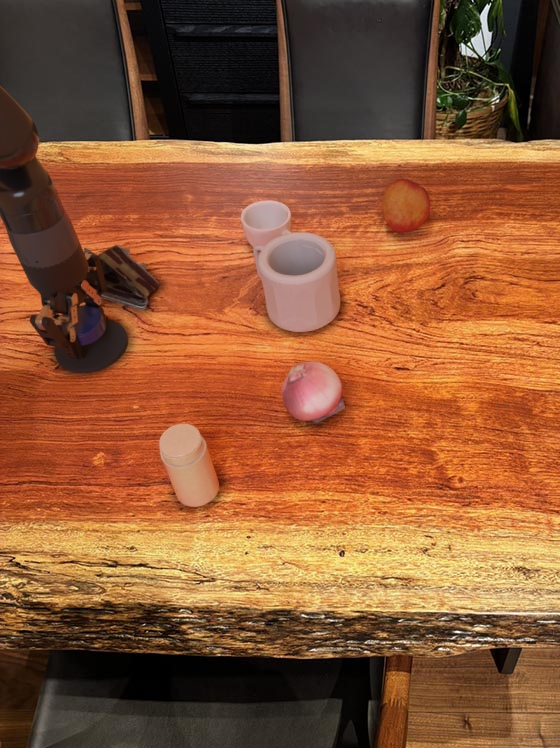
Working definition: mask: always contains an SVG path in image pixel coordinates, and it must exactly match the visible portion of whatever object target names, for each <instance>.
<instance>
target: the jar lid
mask: <svg viewBox="0 0 560 748" xmlns="http://www.w3.org/2000/svg"><path fill="white" fill-rule="evenodd" d="M77 315H78V323H77V324H76V325H75V329H76V337H77V338H78V340H79V342H80V344H81V346H83V345H87V344H90V343H93V342H95V341H96V340H98V339H99V338H100V337H101V336H102V335H103V333H104V332H105V328H106V325H105V320H104V318H103V315H102V314H101V312H100V311H99V309H97V308H96V307H94V306H90V305H85V304H80V305H79V307H78V310H77ZM61 316H62V317H68V318H69V315H64V314H61ZM62 328H63V332H67V328H66V326H62Z"/></svg>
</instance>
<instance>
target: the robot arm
mask: <svg viewBox="0 0 560 748" xmlns="http://www.w3.org/2000/svg"><path fill="white" fill-rule="evenodd" d="M39 146H40V137H39V131H38V128H37V126H36V124H35V121H34V120H33V119H32V117H31V116H30V115H29V113H27V112H26V111H25V109H24V108H23V107H22V106H21V105H20V104H19V103H18V102H17V101H16V100H15V99H14V98H13V97H12V96H11V95H10V94H9V93H8V92H7V91H6V90H5V89H4V88H3V87H2V86H1V85H0V219H1V221H2V223H3V225H4V227H5V230H6V233H7V237H8V240H9V242H10V245H11V247H12V250H13V251H14V253H15V255H16V258H17V260H18V262H19V264H20V265H21V268H22V270H23V271H24V274H25V276H26V278H27V280H28V282H29V284H30V285H31V286H32V288H33V289H34V290H36V291H37V292H38V293H39V294H40V301H41V302H40V303H41V306H42V308H41V310H40V311H39V313H38V314H31V315H30V316H29V317H30V318H29V323H30V325H31V326H32V328H33V329H34V330H35V332H36V333H37V334H38V335H39V336H40V338H41V339H42V341H43V342H44V343H45V345H46V346H49V347H53V348H55V347H58V348H63V349H64V351H65V354H66V356H67V357H70V358H75V359H83V357H84V356H85V353H84V351H83V349H82V346H81V344H80V342H79V340H78V338H77V337H76V329H75V325H76V324H77V323H78V315H77V310H78V307H79V306H81V305H83V304H84V305H90V306H94V307H96V308H97V309H99V311H100V312H101V314H102V315H103V318H104V320H105V325H106V324H107V321H106V319H107V317H106V316H107V315H106V313H105V310H104V308H103V305H102V304H103V298H101V295H102V293H106V291H107V286H106V282H105V278H104V274H103V270H102V266H101V262H100V258H99V256H98V254H96V255H93V254H88V253H84V248H83V246H82V244H81V242H80V239H79V236H78V234H77V231H76V229H75V227H74V225H73V222H72V220H71V218H70V216H69V215H68V212H67V211H66V210H65V207H64V205H63V203H62V200H61V197H60V195H59V193H58V190H57V188H56V185H55V184H54V181H53V179H52V178H51V176H50V174H49V172H48V171H47V170H46V169H45V167H44V166H43V165H42V164H41V162H40V161H39V159H38V158H37V155H36V154H37V153H38V150H39ZM93 279H96V280H97V284H95V283H94V282H93ZM62 314H64V315H69V318H68V317H62ZM62 326H66V328H67V332H63V328H62Z"/></svg>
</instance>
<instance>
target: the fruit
mask: <svg viewBox="0 0 560 748" xmlns="http://www.w3.org/2000/svg"><path fill="white" fill-rule="evenodd" d="M430 212H431V199H430V195H429V194H428V191H427V190H426V188H425V187H423V186H422V185H420V184H419V183H416V182H415V181H412V180H411V179H409V178H404V177H403V178H398V179H396V180H394V181H392V182H390V184H389V185H388V186H387V187H386V189H385V191H384V193H383V196H382V200H381V214H382V216H383V219H384V220H385V222H386V224H387V226H388V227H389V228H390V229H391V230H392V231H394V232H396V233H398V234H399V233H401V234H402V233H403V234H404V233H411V232H414V231H416V230H417V229H419V228H420V227H421V226H422V225H423V224H424V223H425V222H426V221H427V218H428V217H429V215H430Z"/></svg>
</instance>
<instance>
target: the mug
mask: <svg viewBox="0 0 560 748" xmlns="http://www.w3.org/2000/svg"><path fill="white" fill-rule="evenodd" d="M252 253H253V258H254V264H255V268H256V269H255V270H256V273H257V276H258V278H259V279H260V281H261V284H262V288H263V289H262V290H263V294H264V300H265V309H266V312H267V316H268V318H269V319H270V321H271V322H272V323H273V324H274V325H276V327H279V328H281V329H283V330H285V331H290V332H294V333H306V332H312V331H316V330H318V329H322V328H323V327H325V326H327V325H329V323H331V322H332V321H333V320H334V319H335V318H336V317H337V316H338V314H339V311H340V308H341V293H340V288H339V287H340V286H339V275H338V261H337V253H336V250H335V248H334V246H333V244H332V243H331V242H329V240H328V239H326V238H325V237H324V236H321V235H320V234H316V233H312V232H307V231H295V232H294V231H293V232H292V233H287V234H284V235H281V236H278V237H276V238H274V239H273V240H271V241H270V242H268V243H267V244H266V245H265V246H260V245H256V246H254V247H253V246H252Z"/></svg>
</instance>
